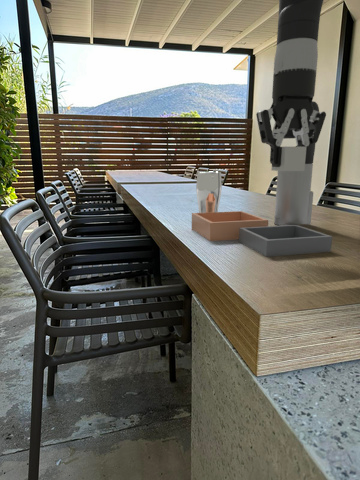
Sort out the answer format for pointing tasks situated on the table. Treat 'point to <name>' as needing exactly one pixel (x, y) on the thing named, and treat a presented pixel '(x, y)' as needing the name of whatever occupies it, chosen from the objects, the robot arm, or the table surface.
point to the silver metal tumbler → (208, 191)
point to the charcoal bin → (284, 240)
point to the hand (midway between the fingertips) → (287, 166)
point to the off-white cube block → (292, 159)
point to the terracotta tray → (224, 224)
